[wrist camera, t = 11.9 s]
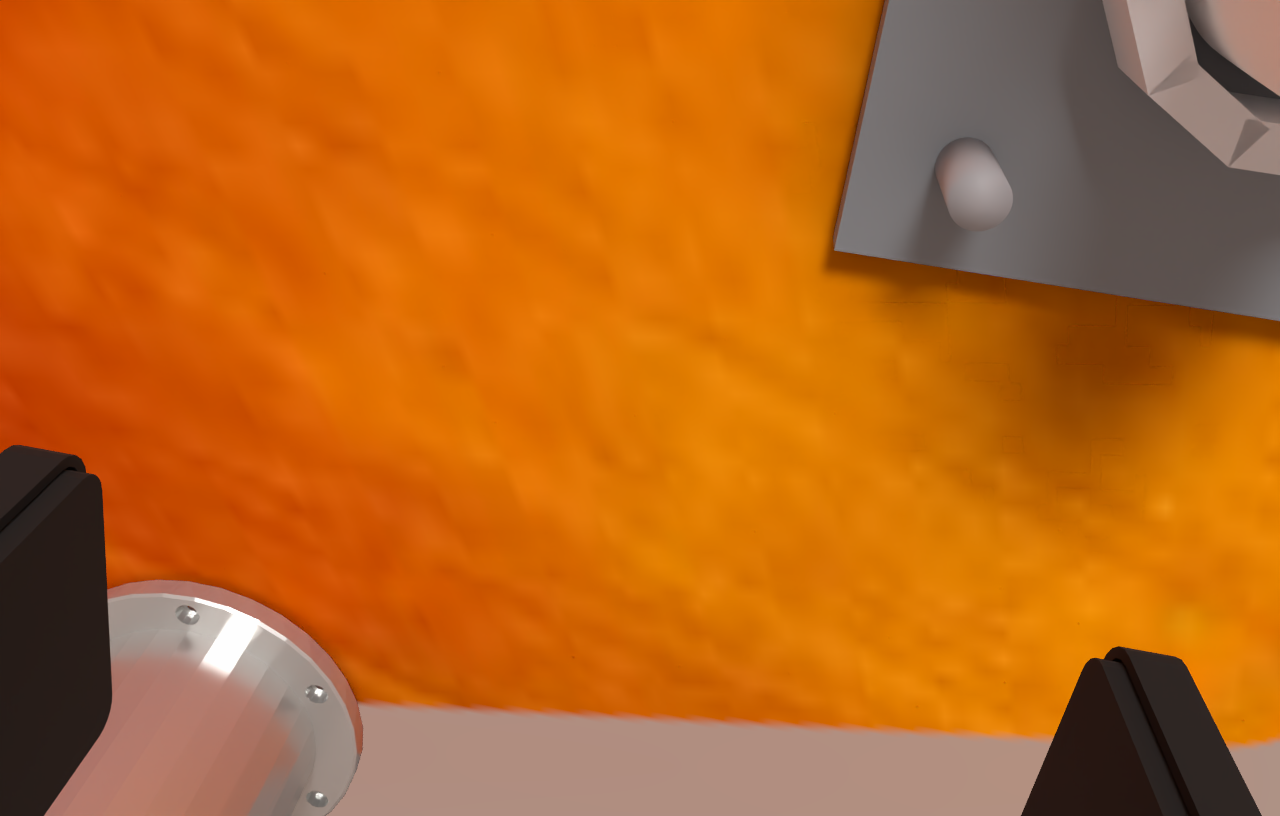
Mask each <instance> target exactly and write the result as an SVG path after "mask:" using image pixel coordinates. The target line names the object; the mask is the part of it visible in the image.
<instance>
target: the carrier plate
mask: <svg viewBox="0 0 1280 816" xmlns="http://www.w3.org/2000/svg"><path fill="white" fill-rule="evenodd" d="M833 243H834V250H835V251H841V252H848V253H854V254H860V255H866V256H873V257H879V258H885V259H892V260H898V261H904V262H911V263H917V264H923V265H930V266H936V267H942V268H949V269H955V270H961V271H967V272H974V273H980V274H986V275H993V276H999V277H1005V278H1012V279H1018V280H1024V281H1031V282H1037V283H1043V284H1050V285H1056V286H1062V287H1068V288H1075V289H1081V290H1087V291H1094V292H1100V293H1106V294H1113V295H1119V296H1125V297H1132V298H1138V299H1144V300H1151V301H1157V302H1163V303H1169V304H1176V305H1182V306H1188V307H1195V308H1201V309H1207V310H1214V311H1220V312H1226V313H1233V314H1239V315H1245V316H1252V317H1258V318H1264V319H1270V320H1277V321H1280V96H1278V95H1277V94H1276V93H1274V92H1273V91H1271V90H1270V89H1268V88H1267V87H1265V86H1264V85H1263V84H1261V83H1260V82H1258V81H1257V80H1255V79H1254V78H1252V77H1251V76H1250V75H1248V74H1247V73H1245V72H1244V71H1242V70H1241V69H1240V68H1238V67H1237V66H1235V65H1234V64H1233V63H1231V62H1230V61H1228V60H1227V59H1226V58H1224V57H1223V56H1222V55H1220V54H1219V53H1218V52H1217V51H1215V50H1214V49H1213V48H1212V47H1211V46H1209V44H1208V43H1207V42H1206V41H1205V40H1204V39H1203V38H1202V37H1201V35H1200V34H1199V33H1198V31H1197V29H1196V28H1195V26H1194V24H1193V23H1192V21H1191V19H1190V17H1189V15H1188V13H1187V9H1186V4H1185V0H885V2H884V6H883V11H882V15H881V20H880V25H879V29H878V34H877V38H876V43H875V48H874V52H873V57H872V61H871V66H870V71H869V75H868V80H867V84H866V89H865V94H864V98H863V103H862V107H861V112H860V116H859V121H858V126H857V130H856V135H855V139H854V144H853V149H852V153H851V158H850V162H849V167H848V172H847V176H846V181H845V185H844V190H843V195H842V199H841V204H840V208H839V213H838V218H837V222H836V227H835V231H834V236H833Z"/></svg>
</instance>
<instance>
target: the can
mask: <svg viewBox="0 0 1280 816" xmlns="http://www.w3.org/2000/svg"><path fill="white" fill-rule="evenodd" d="M1185 4H1186V9H1187V13H1188V15H1189V17H1190V19H1191V21H1192V23H1193V24H1194V26H1195V28H1196V29H1197V31H1198V33H1199V34H1200V35H1201V37H1202V38H1203V39H1204V40H1205V41H1206V42H1207V43H1208V44H1209V46H1211V47H1212V48H1213V49H1214V50H1215V51H1217V52H1218V53H1219V54H1220V55H1222V56H1223V57H1224V58H1226V59H1227V60H1228V61H1230V62H1231V63H1233V64H1234V65H1235V66H1237V67H1238V68H1240V69H1241V70H1242V71H1244V72H1245V73H1247V74H1248V75H1250V76H1251V77H1252V78H1254V79H1255V80H1257V81H1258V82H1260V83H1261V84H1263V85H1264V86H1265V87H1267V88H1268V89H1270V90H1271V91H1273V92H1274V93H1276V94H1277V95H1278V96H1280V0H1185Z"/></svg>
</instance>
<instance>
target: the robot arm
mask: <svg viewBox="0 0 1280 816" xmlns="http://www.w3.org/2000/svg"><path fill="white" fill-rule="evenodd" d="M362 745H363V725H362V722H361V717H360V712H359V708H358V703H357V701H356V699H355V697H354V695H353V693H352V690H351V688H350V686H349V684H348V682H347V680H346V678H345V677H344V675H343V674H342V673H341V671H340V670H339V668H338V667H337V666H336V664H335V663H334V661H333V660H332V659H331V657H330V656H329V655H328V654H327V653H326V652H325V651H324V650H323V649H322V648H321V647H320V646H319V645H318V644H317V643H316V642H315V641H314V640H313V639H312V638H311V637H310V636H309V635H308V634H307V633H305V632H304V631H303V630H301V629H300V628H299V627H297V626H296V625H295V624H293V623H292V622H290V621H289V620H288V619H286V618H285V617H284V616H282V615H281V614H279V613H277V612H275V611H273V610H271V609H269V608H267V607H266V606H264V605H262V604H260V603H258V602H256V601H254V600H252V599H250V598H247V597H244V596H241V595H239V594H236V593H233V592H230V591H228V590H225V589H222V588H218V587H214V586H209V585H204V584H199V583H194V582H190V581H173V580H150V581H142V582H133V583H127V584H124V585H121V586H117V587H114V588H111V589H108V590H107V577H106V557H105V537H104V518H103V498H102V487H101V482H100V480H99V478H98V477H97V476H96V475H94V474H89V473H86V469H85V466H84V463H83V461H82V459H80V458H79V457H77V456H76V455H71V454H66V453H60V452H55V451H49V450H44V449H38V448H33V447H28V446H22V445H13V446H11V447H9V448H7V449H6V450H4V451H3V452H2V453H1V454H0V816H326V815H327V814H328V813H330V812H331V811H332V810H333V809H334V807H335V806H336V805H337V804H338V803H339V801H340V800H341V799H342V798H343V797H344V795H345V794H346V791H347V789H348V787H349V785H350V783H351V781H352V778H353V776H354V774H355V772H356V770H357V766H358V763H359V759H360V756H361V753H362ZM1021 816H1262V815H1261V813H1260V811H1259V809H1258V807H1257V805H1256V803H1255V801H1254V799H1253V797H1252V796H1251V794H1250V792H1249V789H1248V788H1247V786H1246V784H1245V782H1244V780H1243V778H1242V776H1241V774H1240V772H1239V770H1238V768H1237V766H1236V764H1235V762H1234V760H1233V758H1232V756H1231V754H1230V752H1229V750H1228V748H1227V746H1226V744H1225V742H1224V740H1223V738H1222V736H1221V734H1220V732H1219V730H1218V728H1217V726H1216V724H1215V722H1214V720H1213V718H1212V716H1211V714H1210V712H1209V710H1208V708H1207V706H1206V704H1205V702H1204V700H1203V698H1202V696H1201V694H1200V692H1199V690H1198V688H1197V686H1196V684H1195V682H1194V680H1193V678H1192V676H1191V674H1190V672H1189V670H1188V668H1187V667H1186V665H1185V664H1184V663H1183V661H1182V660H1181V659H1179V658H1177V657H1174V656H1168V655H1163V654H1157V653H1152V652H1146V651H1141V650H1136V649H1130V648H1125V647H1115V648H1112V649H1111V650H1110V651H1109V652H1108V653H1107V654H1106V656H1105V658H1104V659H1098V658H1092V659H1090V660H1089V661H1088V662H1087V663H1086V664H1085V666H1084V668H1083V670H1082V672H1081V674H1080V677H1079V679H1078V682H1077V684H1076V686H1075V689H1074V691H1073V693H1072V696H1071V698H1070V701H1069V703H1068V705H1067V708H1066V710H1065V712H1064V715H1063V717H1062V720H1061V722H1060V724H1059V727H1058V729H1057V731H1056V734H1055V736H1054V739H1053V741H1052V743H1051V746H1050V748H1049V751H1048V753H1047V755H1046V758H1045V760H1044V762H1043V765H1042V767H1041V769H1040V772H1039V774H1038V777H1037V779H1036V782H1035V784H1034V786H1033V788H1032V791H1031V793H1030V796H1029V798H1028V800H1027V803H1026V805H1025V808H1024V810H1023V812H1022V815H1021Z"/></svg>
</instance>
